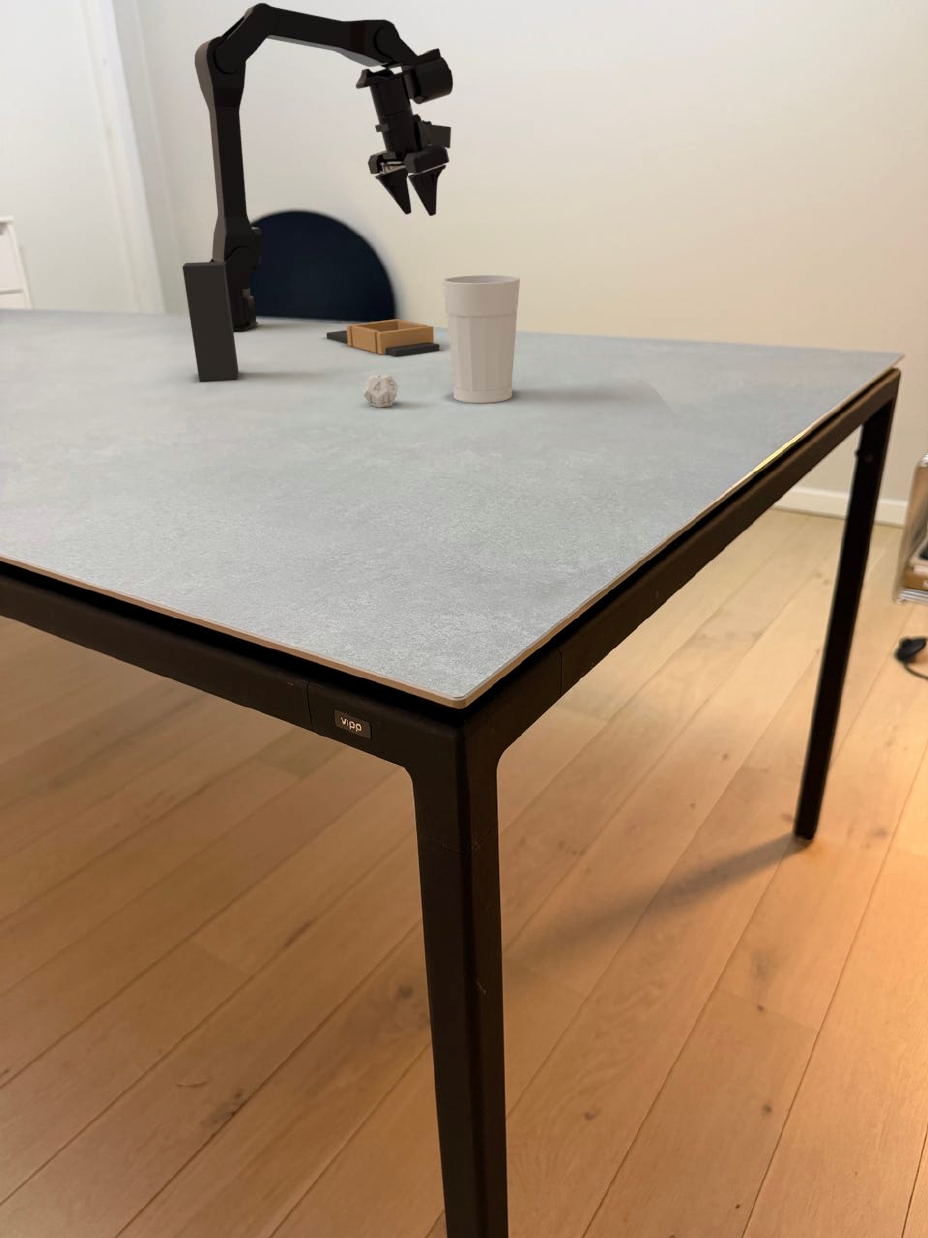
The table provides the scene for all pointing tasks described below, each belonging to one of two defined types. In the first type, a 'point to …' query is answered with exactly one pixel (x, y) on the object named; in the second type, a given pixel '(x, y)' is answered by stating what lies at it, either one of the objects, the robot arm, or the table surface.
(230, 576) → the table surface
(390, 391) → the game die
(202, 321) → the dark rectangular block
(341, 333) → the wooden tray on slab
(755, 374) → the table surface
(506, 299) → the cup
